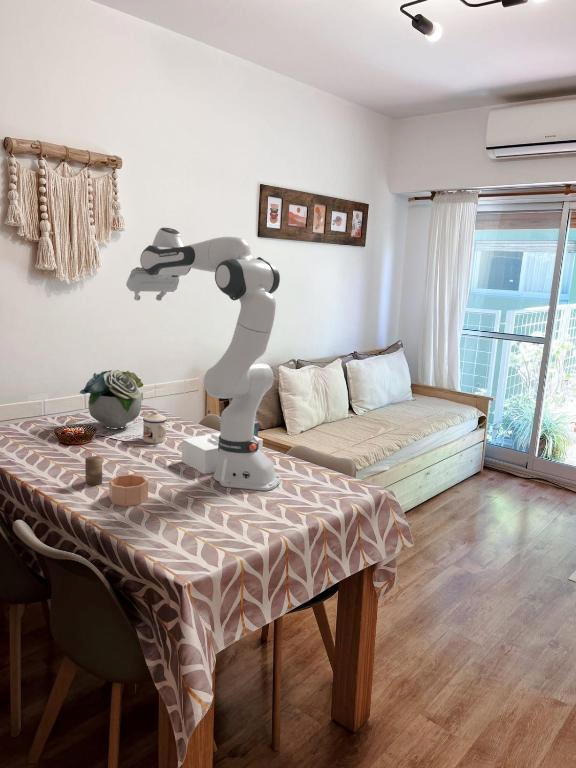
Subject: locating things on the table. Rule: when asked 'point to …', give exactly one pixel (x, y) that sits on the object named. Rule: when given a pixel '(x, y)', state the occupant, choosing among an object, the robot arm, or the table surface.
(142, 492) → the cup
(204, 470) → the tissue box
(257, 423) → the flask
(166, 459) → the table surface
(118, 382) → the flower arrangement
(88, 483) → the peg
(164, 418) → the teacup with lid
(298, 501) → the table surface
